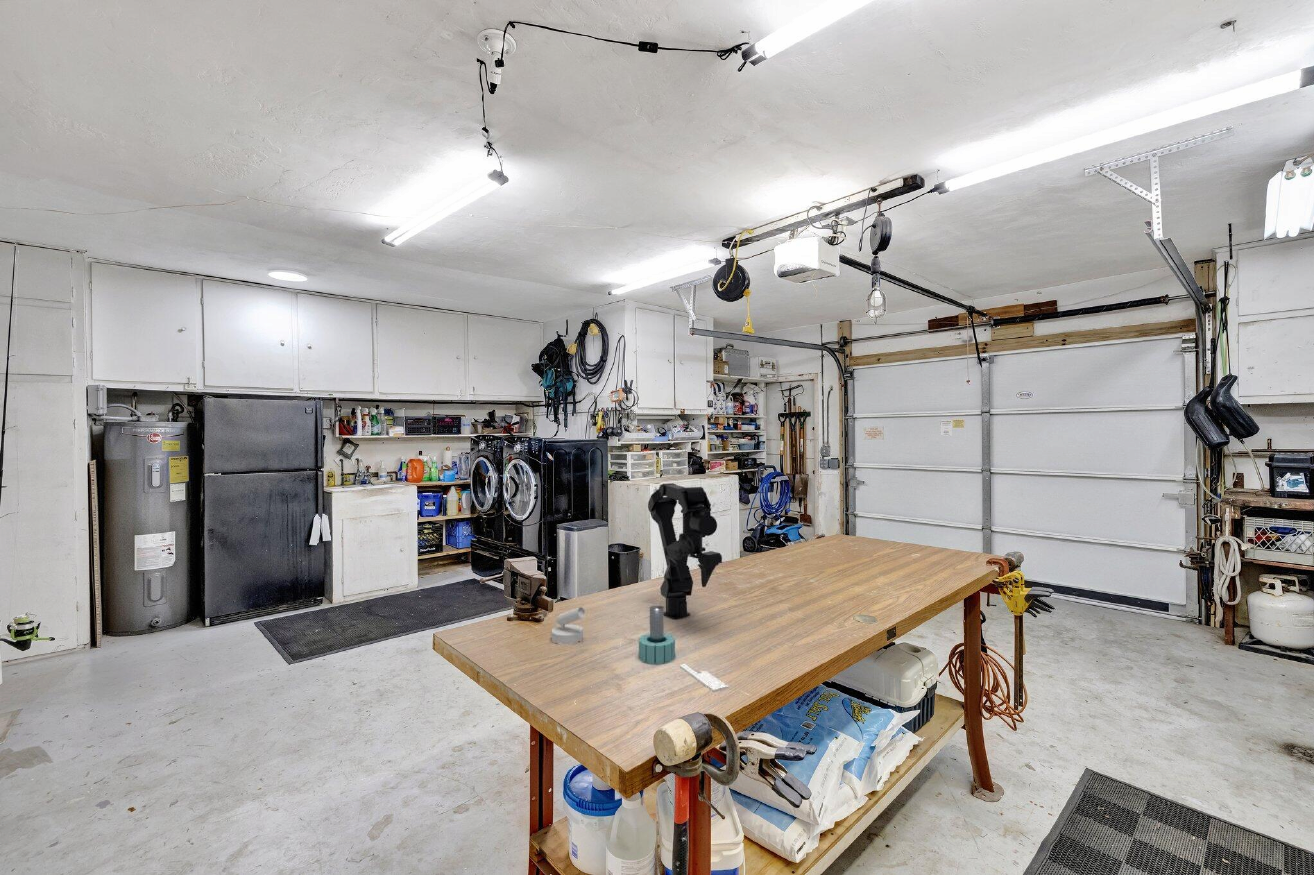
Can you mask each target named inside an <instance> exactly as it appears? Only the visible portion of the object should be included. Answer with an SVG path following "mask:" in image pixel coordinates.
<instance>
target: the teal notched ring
mask: <svg viewBox="0 0 1314 875" xmlns="http://www.w3.org/2000/svg"><path fill="white" fill-rule="evenodd" d="M638 658H639V660H640V661H641V662H643V663H645V664H649V665H650V664H651V665H663V664H667V663H670V662H673V661H674V659H675V658H676V639H675V637H674V636H673V635H672V634H669V633H664V642H661V643H652V642H650V632H648V633H645V634H643V635H641V636H640V637H638Z"/></svg>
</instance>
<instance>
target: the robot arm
mask: <svg viewBox="0 0 1314 875" xmlns="http://www.w3.org/2000/svg"><path fill="white" fill-rule="evenodd" d="M649 497H650V498H649V499H648V502H647V508H648V511H649V512H650V517H651V519H653V521H654V522H655V523H656V524H657V525H658V530H659V534H660V539H661V544H662V551H663V554H664V559H665V564H666V570H665V572H664V573H663V578H664V579H663V582H662V583H661V585H660V588H659V589H660V590H659V591H660V595H661V596H662V597H663V598H665V611H664V617H665V616H666V617H667V618H668V617H669V618H671V619H674V620H678V619H681V618H684V617H688V616H691V613H690V612H688V602H687V597H688V596H689V597H690V596H692V593H693V587H694V580H693V577H692V574H691V572H690V567H689V565H688V561H689V560H688V559H689V557H690V558H693V559H697V562H698V563H699V564H698V563H697V566H698V568H699V569H700V576H701V580H700V581H701V587H702V588H706V586H707V585H708V583H709V581H710V578H711V576H712V574H713V572H714V571H715V568H716V567H717V566H719V565H720V564H722V563H723V555H722V554H721V552H717V551H713V550H710V551H706V547H704V546H703V538H706V536H707V537H709V536H713V534H714V533H715V532H716V531H717V529H718V522H717V520H716V518H715V517H714V515H713V516H712V515H711V514H712V513H711V512H712V508H711V506H712V505H711V503H710V500H709V498H708V495H707V492H706V491H705V489H704V487H703V486H691V487H685V486H681V485H679V484H676V483H674V482H672V483H671V482H670V483H662V484H660V485H659V486H658V489H657V490H656V491H654V492H653V493H652V494H651V495H650V496H649ZM677 504H678V505H680V507H681V508H682V509H681V510H680V513H681V514H682V533H679V536H678V540H677V537H676V536H677V535H676V532H675V527H674V523H673V518H674V515H675V512H676V507H677Z"/></svg>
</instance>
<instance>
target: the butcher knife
mask: <svg viewBox="0 0 1314 875" xmlns="http://www.w3.org/2000/svg"><path fill="white" fill-rule="evenodd" d="M678 667H679V668H680V669H681V670H683V671H684V672H686V673H687V674H688V675H690V676H691V677H692V678H694V679H695V680H696V681H697V682H699V683H701V684H702V685H703V686H705V687H706V688H707V689H709V690H710V691H711V690H712V692H713V693H716V692H719V691H718V690H720V691H722V690H723V689H724V690H726V689H725V688H728V689H730V688H729V687H730V686H729V685H728V684H726V683H724V682H723V681H722V682H721V680H720V679H719V678H717V677H716V676H715V675H712V674H711V673H710V672H709V671H707V670H699V673H698V672H697V671H695V670H693V669H692V668H690V667H689V666H688V665H687V663H681V664H679V665H678ZM725 684H726V685H725ZM728 686H729V687H728Z"/></svg>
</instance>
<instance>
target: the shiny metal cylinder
mask: <svg viewBox="0 0 1314 875" xmlns="http://www.w3.org/2000/svg"><path fill="white" fill-rule="evenodd" d="M664 609H665V608H664V606H662V605H651V606H649V634H650V642H652V643H661V642H664V629H665V627H664V624H665V620H664V618H665V615H664V612H665V610H664Z"/></svg>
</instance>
